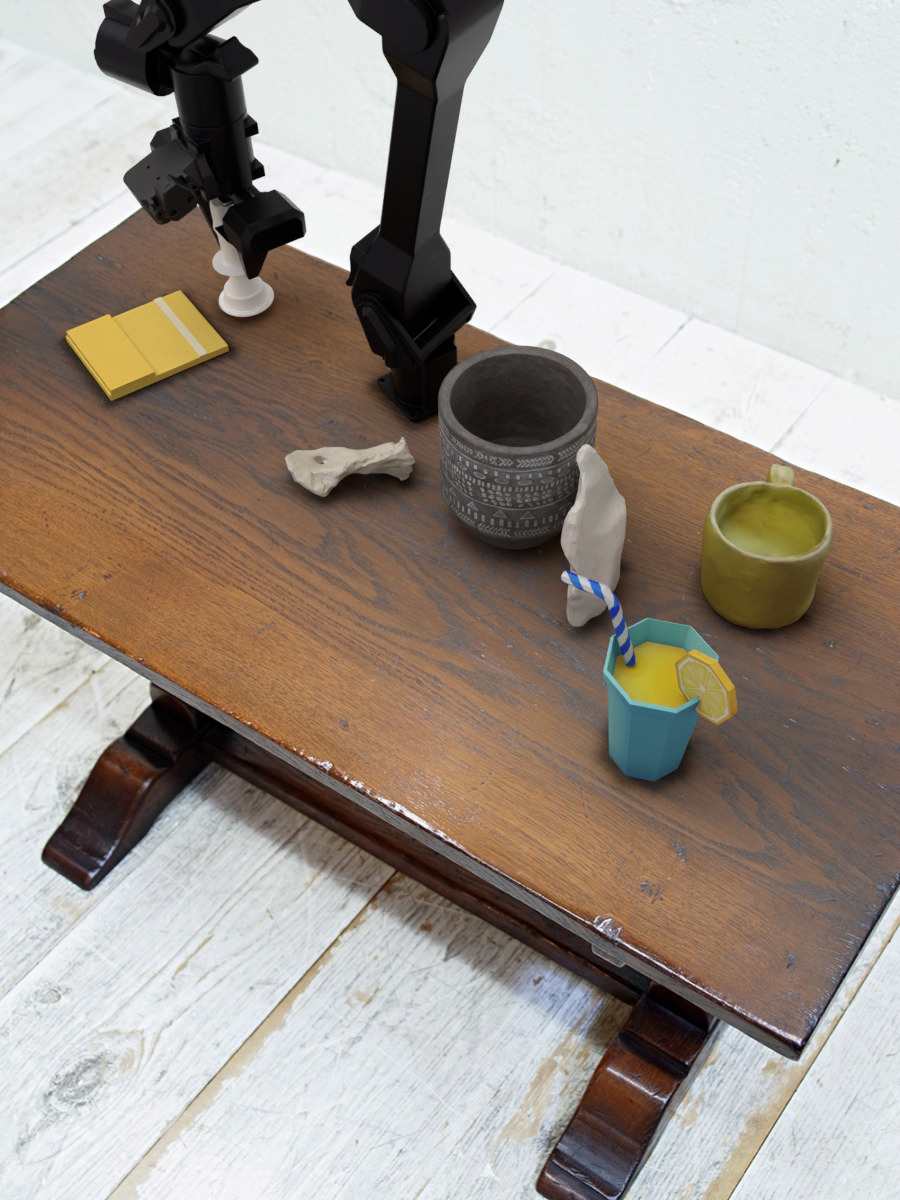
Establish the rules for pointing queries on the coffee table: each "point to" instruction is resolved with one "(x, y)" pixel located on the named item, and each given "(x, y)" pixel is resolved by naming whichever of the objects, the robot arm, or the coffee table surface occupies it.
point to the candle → (237, 276)
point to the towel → (145, 344)
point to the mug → (764, 551)
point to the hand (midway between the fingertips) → (239, 263)
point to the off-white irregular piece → (347, 464)
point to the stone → (593, 535)
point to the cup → (656, 688)
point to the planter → (514, 442)
